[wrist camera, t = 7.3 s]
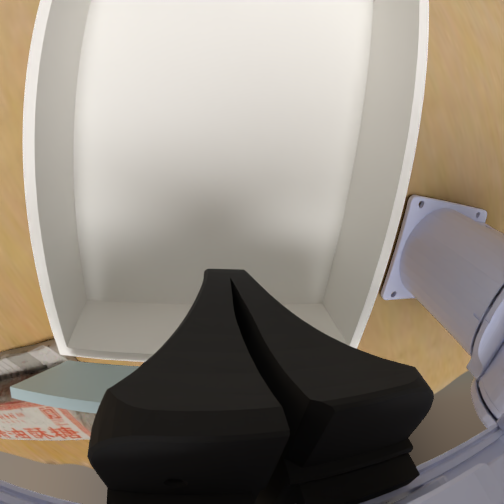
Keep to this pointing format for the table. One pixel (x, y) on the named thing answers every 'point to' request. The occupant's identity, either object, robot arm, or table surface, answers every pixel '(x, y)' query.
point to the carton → (216, 158)
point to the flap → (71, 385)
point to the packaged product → (31, 414)
